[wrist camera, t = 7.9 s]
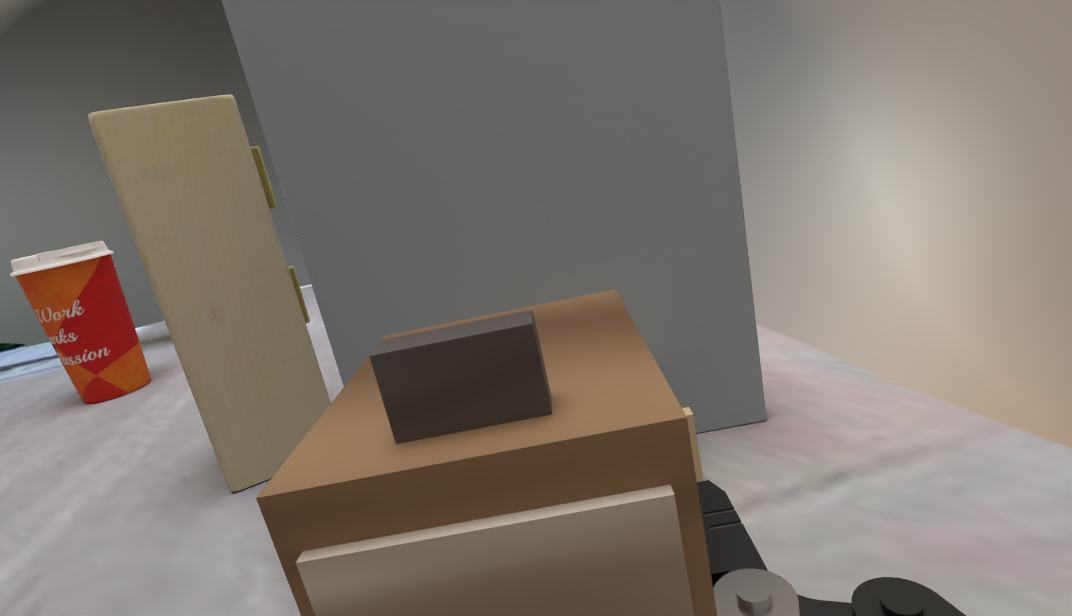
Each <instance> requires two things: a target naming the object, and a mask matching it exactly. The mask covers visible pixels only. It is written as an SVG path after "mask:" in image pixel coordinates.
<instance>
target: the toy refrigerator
mask: <svg viewBox="0 0 1072 616" xmlns="http://www.w3.org/2000/svg"><path fill="white" fill-rule="evenodd" d="M88 118H89V122H90V125H91V128H92V131H93V134H94V136H95V139H96V141H97V144H98V146H99V149H100V152H101V154H102V157H103V160H104V163H105V165H106V168H107V171H108V173H109V176H110V178H111V181H112V183H113V186H114V188H115V191H116V194H117V196H118V199H119V202H120V204H121V207H122V210H123V212H124V215H125V217H126V220H127V222H128V225H129V228H130V231H131V233H132V236H133V238H134V241H135V244H136V246H137V249H138V251H139V254H140V257H141V259H142V262H143V264H144V267H145V270H146V272H147V275H148V278H149V280H150V283H151V285H152V288H153V291H154V293H155V296H156V299H157V301H158V304H159V307H160V309H161V312H162V314H163V317H164V319H165V322H166V325H167V328H168V330H169V333H170V336H171V338H172V341H173V344H174V346H175V349H176V352H177V354H178V357H179V359H180V362H181V365H182V367H183V370H184V373H185V375H186V378H187V381H188V383H189V386H190V388H191V391H192V394H193V396H194V399H195V401H196V404H197V407H198V409H199V412H200V415H201V417H202V420H203V423H204V425H205V428H206V430H207V433H208V436H209V438H210V441H211V443H212V446H213V449H214V451H215V454H216V457H217V459H218V462H219V465H220V467H221V470H222V473H223V475H224V478H225V480H226V483H227V485H228V487H229V489H230V490H231V491H232V492H236V491H240V490H243V489H245V488H248V487H250V486H253V485H255V484H258V483H261V482H263V481H266V480H268V479H271V478H272V477H273V476H274V475H275V474H276V472H277V471H278V470H279V469H280V467H281V466H282V465H283V464H284V462H285V461H286V460H287V458H288V457H289V456H290V455H291V453H292V452H293V451H294V450H295V448H296V447H297V446H298V445H299V443H300V442H301V441H302V440H303V438H304V437H305V436H306V435H307V433H308V432H309V431H310V429H311V428H312V427H313V426H314V424H315V423H316V422H317V421H318V419H319V418H320V417H321V416H322V414H323V413H324V412H325V411H326V409H327V408H328V407H329V406H330V404H331V403H330V399H329V396H328V393H327V390H326V387H325V383H324V380H323V377H322V374H321V371H320V367H319V364H318V361H317V358H316V355H315V352H314V348H313V345H312V342H311V339H310V336H309V332H308V329H307V326H306V323H309V322H310V320H309V316H308V313H307V309H306V306H305V302H304V299H303V296H302V292H301V289H300V286H299V283H298V279H297V276H296V272H295V269H294V267H293V266H289V267H288V266H287V263H286V260H285V256H284V253H283V250H282V247H281V244H280V241H279V238H278V234H277V231H276V228H275V225H274V222H273V219H272V216H271V212H270V209H275V208H277V204H276V201H275V197H274V194H273V191H272V188H271V185H270V181H269V178H268V175H267V172H266V168H265V165H264V162H263V159H262V155H261V152H260V149H259V147H250V146H249V143H248V139H247V136H246V133H245V130H244V127H243V124H242V121H241V117H240V114H239V111H238V108H237V104H236V102H235V99H234V97H233V95H223V96H213V97H204V98H197V99H189V100H181V101H174V102H166V103H159V104H151V105H145V106H137V107H129V108H122V109H113V110H106V111H100V112H93V113H90V114H89V115H88Z"/></svg>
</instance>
